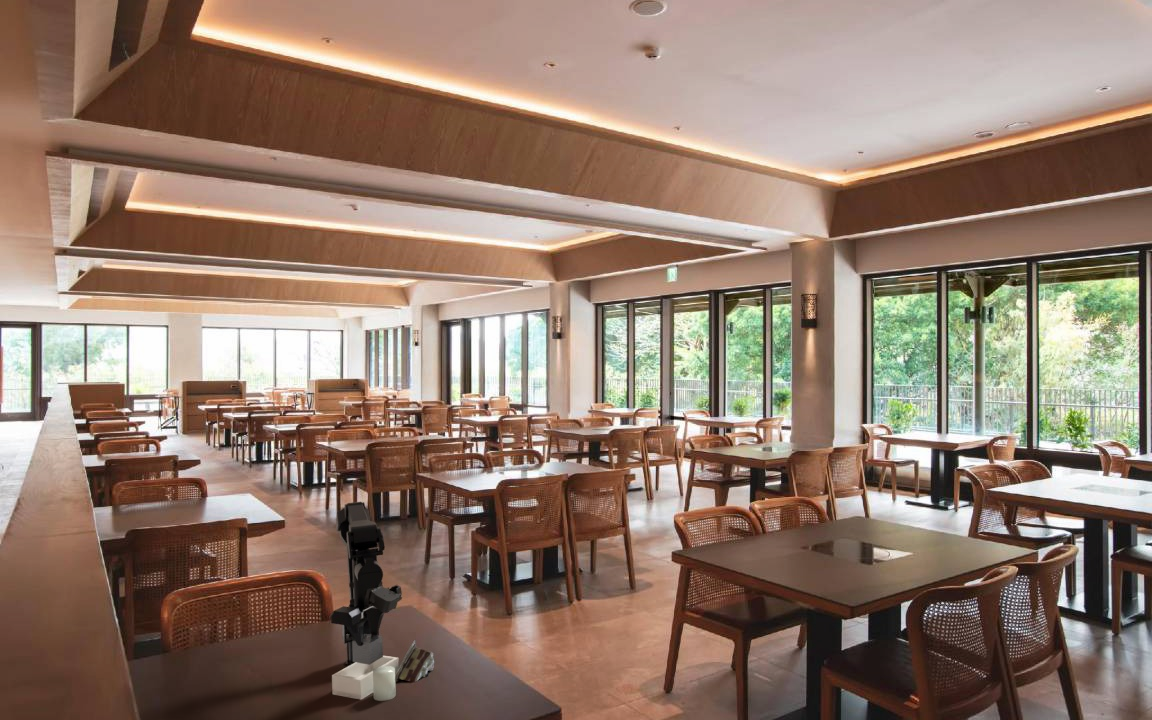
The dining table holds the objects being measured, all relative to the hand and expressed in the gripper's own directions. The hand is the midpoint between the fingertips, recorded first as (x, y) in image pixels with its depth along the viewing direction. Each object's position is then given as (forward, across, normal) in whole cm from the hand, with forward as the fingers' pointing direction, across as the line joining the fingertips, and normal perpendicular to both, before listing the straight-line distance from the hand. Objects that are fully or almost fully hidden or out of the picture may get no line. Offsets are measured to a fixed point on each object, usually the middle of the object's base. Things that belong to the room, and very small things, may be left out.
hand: (367, 641), depth 180 cm
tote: (+11, 0, +1) cm, 11 cm away
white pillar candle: (+11, -3, -7) cm, 13 cm away
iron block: (+4, 0, 0) cm, 4 cm away
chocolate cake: (+11, +9, -7) cm, 16 cm away
